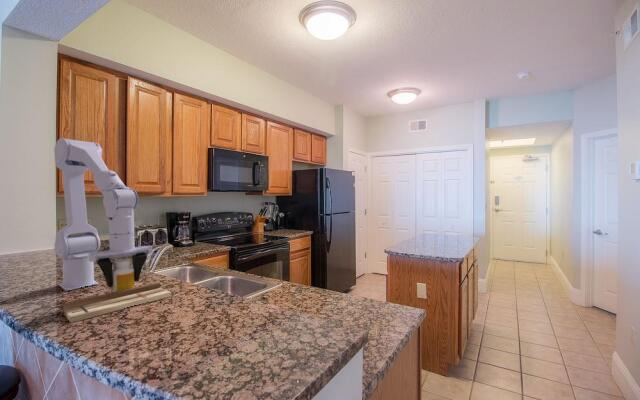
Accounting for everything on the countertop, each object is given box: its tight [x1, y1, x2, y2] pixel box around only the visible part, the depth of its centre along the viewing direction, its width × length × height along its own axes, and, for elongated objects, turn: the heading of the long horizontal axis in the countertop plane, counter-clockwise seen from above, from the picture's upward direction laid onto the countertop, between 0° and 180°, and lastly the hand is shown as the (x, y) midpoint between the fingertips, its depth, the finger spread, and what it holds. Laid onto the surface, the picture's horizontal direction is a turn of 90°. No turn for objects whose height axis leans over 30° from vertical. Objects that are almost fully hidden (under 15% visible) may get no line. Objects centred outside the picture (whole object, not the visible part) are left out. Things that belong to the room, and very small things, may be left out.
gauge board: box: [62, 281, 172, 323], centre depth 76 cm, size 8×21×2 cm, turn 140°
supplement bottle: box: [110, 258, 135, 293], centre depth 82 cm, size 5×5×10 cm
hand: (123, 283), depth 82 cm, fingers open, 6 cm apart
